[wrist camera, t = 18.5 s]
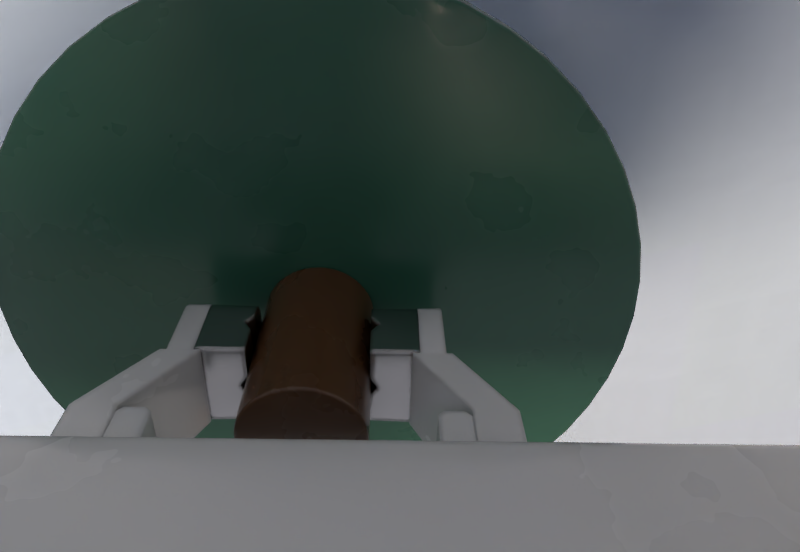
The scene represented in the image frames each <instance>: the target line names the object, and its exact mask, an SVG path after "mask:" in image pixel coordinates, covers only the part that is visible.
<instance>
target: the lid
mask: <svg viewBox="0 0 800 552" xmlns="http://www.w3.org/2000/svg"><path fill="white" fill-rule="evenodd" d="M640 258H641V242H640V234H639V227H638V220H637V212H636V206H635V202H634V199H633V196H632V192H631V189H630V186H629V182H628V179H627V176H626V172H625V169H624V167H623V165H622V163H621V161H620V159H619V156H618V154H617V152H616V150H615V148H614V146H613V144H612V142H611V140H610V138H609V136H608V134H607V132H606V130H605V128H604V127H603V125H602V124H601V123H600V121H599V120H598V118H597V117H596V115H595V114H594V112H593V111H592V110H591V108H590V107H589V105H588V104H587V102H586V101H585V99H584V98H583V96H582V95H581V94H580V92H579V91H578V90H577V89H576V88H575V86H574V85H573V84H572V83H571V82H570V81H569V80H568V79H567V78H566V77H565V76H564V75H563V74H562V73H561V72H560V71H559V69H558V68H557V67H556V66H555V65H554V64H553V63H552V62H551V61H550V60H549V59H548V58H547V57H546V56H545V55H544V54H543V53H542V52H541V51H539V50H538V49H537V48H536V47H534V46H533V45H532V44H530V43H529V42H528V41H527V40H525V39H524V38H523V37H522V36H520V35H519V34H518V33H517V32H515V31H514V30H513V29H511V28H510V27H509V26H508V25H506V24H505V23H503V22H501V21H499V20H498V19H496V18H494V17H492V16H491V15H489V14H487V13H486V12H484V11H482V10H480V9H479V8H477V7H475V6H473V5H472V4H470V3H468V2H467V1H465V0H138V1H137V2H135V3H133V4H131V5H129V6H127V7H125V8H123V9H122V10H120V11H118V12H116V13H114V14H112V15H111V16H109V17H107V18H106V19H104V20H103V21H102V22H101V23H99V24H98V25H97V26H95V27H94V28H93V29H91V30H90V31H89V32H87V33H86V34H85V35H84V36H82V37H81V38H80V39H78V40H77V41H76V42H74V43H73V44H72V45H71V46H69V47H68V48H67V49H66V50H65V51H64V53H63V54H62V55H61V56H60V57H59V58H58V59H57V60H56V61H55V62H54V63H53V64H52V65H51V67H50V68H49V69H48V70H47V71H46V72H45V73H44V74H43V75H42V76H41V77H40V78H39V79H38V81H37V82H36V84H35V85H34V87H33V88H32V90H31V91H30V93H29V95H28V96H27V98H26V99H25V101H24V102H23V104H22V105H21V107H20V108H19V110H18V111H17V113H16V115H15V116H14V118H13V121H12V123H11V125H10V128H9V130H8V132H7V135H6V137H5V139H4V142H3V144H2V146H1V149H0V307H1V310H2V312H3V315H4V317H5V319H6V322H7V324H8V326H9V329H10V331H11V334H12V336H13V338H14V340H15V342H16V344H17V345H18V347H19V349H20V350H21V352H22V354H23V356H24V357H25V359H26V361H27V362H28V364H29V366H30V367H31V369H32V371H33V372H34V373H35V375H36V376H37V377H38V378H39V380H40V381H41V382H42V384H43V385H44V386H45V388H46V389H47V390H48V391H49V393H50V394H51V395H52V397H53V398H54V399H55V400H56V401H57V402H58V403H59V404H60V405H61V406H62V407H63V408H64V409H65V410H66V408H67V407H68V405H69V404H70V403H72V402H73V401H75V400H76V399H78V398H80V397H81V396H83V395H85V394H86V393H88V392H90V391H91V390H93V389H95V388H96V387H98V386H99V385H101V384H103V383H104V382H106V381H108V380H109V379H111V378H113V377H114V376H116V375H118V374H119V373H121V372H122V371H124V370H126V369H127V368H129V367H131V366H132V365H134V364H136V363H137V362H139V361H141V360H142V359H144V358H145V357H147V356H149V355H150V354H152V353H154V352H155V351H157V350H159V349H166V348H167V346H168V344H169V342H170V340H171V338H172V335H173V333H174V331H175V329H176V327H177V324H178V322H179V320H180V318H181V316H182V313H183V311H184V309H185V307H186V306H187V305H189V304H211V305H236V306H259V308H260V310H261V318H262V324H261V328H260V332H259V335H258V339H257V343H256V346H255V350H254V354H253V357H252V361H251V365H250V368H249V372H248V376H247V379H246V383H245V387H244V390H243V394H242V398H241V401H240V405H239V409H238V412H237V416H236V419H211V422H210V423H209V424H208V425H207V426H206V427H205V428H204V429H203V430H202V431H201V432H200V433H199V434H198V435H197V436H196V437H194V438H245V439H328V440H412V441H422V440H421V438H420V437H419V436H418V434H417V433H416V432H415V430H414V429H413V428H412V426H411V425H410V424H409V422H400V421H374V420H370V403H371V379H370V338H371V312H372V309H422V308H440V309H441V310H442V319H443V327H444V335H445V344H446V352H447V353H453V354H454V355H455V356H456V357H458V358H459V359H460V360H461V361H462V362H463V363H465V364H466V365H467V366H468V367H469V368H471V369H472V370H473V371H474V372H475V373H476V374H478V375H479V376H480V377H481V378H482V379H483V380H485V381H486V382H487V383H488V384H489V385H490V386H492V387H493V388H494V389H495V390H496V391H497V392H499V393H500V394H501V395H502V396H503V397H504V398H506V399H507V400H508V401H509V402H510V403H511V404H513V405H514V406H515V407H516V408H517V409H518V410H520V413H521V418H522V422H523V426H524V430H525V434H526V439H527V442H554V441H555V440H556V439H557V438H558V437H559V436H560V435H562V434H563V433H564V432H565V431H566V430H567V429H568V428H569V427H570V426H571V425H572V424H573V422H574V421H575V420H576V419H577V418H578V417H579V416H580V415H581V414H582V412H583V411H584V410H585V409H586V408H587V407H588V406H589V404H590V403H591V402H592V400H593V399H594V397H595V396H596V394H597V393H598V391H599V390H600V388H601V387H602V386H603V384H604V383H605V381H606V380H607V378H608V376H609V374H610V372H611V370H612V369H613V367H614V365H615V363H616V361H617V359H618V357H619V355H620V353H621V351H622V349H623V346H624V343H625V340H626V337H627V334H628V331H629V328H630V325H631V322H632V319H633V316H634V311H635V306H636V300H637V294H638V289H639V283H640Z"/></svg>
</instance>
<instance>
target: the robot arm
mask: <svg viewBox="0 0 800 552" xmlns="http://www.w3.org/2000/svg"><path fill="white" fill-rule="evenodd" d="M261 324H262V318H261V310H260V308H259V306H236V305H211V304H189V305H187V306H186V307H185V309H184V311H183V313H182V316H181V318H180V320H179V322H178V324H177V327H176V329H175V331H174V333H173V335H172V338H171V340H170V342H169V344H168V346H167V348H166V349H159V350H157V351H155V352H154V353H152V354H150V355H149V356H147V357H145V358H144V359H142V360H141V361H139V362H137V363H136V364H134V365H132V366H131V367H129V368H127V369H126V370H124V371H122V372H121V373H119V374H118V375H116V376H114V377H113V378H111V379H109V380H108V381H106V382H104V383H103V384H101V385H99V386H98V387H96V388H95V389H93V390H91V391H90V392H88V393H86V394H85V395H83V396H81V397H80V398H78V399H76V400H75V401H73V402H72V403H70V404H69V405H68V407H67V408H66V410H65V412H64V413H63V415H62V417H61V418H60V420H59V422H58V423H57V425H56V427H55V429H54V430H53V432H52V434H51V435H50V436H0V552H800V445H730V444H652V443H575V442H527V439H526V434H525V430H524V426H523V422H522V418H521V413H520V410H518V409H517V408H516V407H515V406H514V405H513V404H511V403H510V402H509V401H508V400H507V399H506V398H504V397H503V396H502V395H501V394H500V393H499V392H497V391H496V390H495V389H494V388H493V387H492V386H490V385H489V384H488V383H487V382H486V381H485V380H483V379H482V378H481V377H480V376H479V375H478V374H476V373H475V372H474V371H473V370H472V369H471V368H469V367H468V366H467V365H466V364H465V363H463V362H462V361H461V360H460V359H459V358H458V357H456V356H455V355H454V354H453V353H447V352H446V344H445V335H444V327H443V319H442V310H441V309H440V308H422V309H372V312H371V338H370V379H371V403H370V420H374V421H400V422H409V424H410V425H411V426H412V428H413V429H414V430H415V432H416V433H417V434H418V436H419V437H420V438H421V440H422V441H412V440H328V439H245V438H194V437H196V436H197V435H198V434H199V433H200V432H201V431H202V430H203V429H204V428H205V427H206V426H207V425H208V424H209V423H210V422H211V419H236V416H237V412H238V409H239V405H240V401H241V398H242V394H243V390H244V387H245V383H246V379H247V376H248V372H249V368H250V365H251V361H252V357H253V354H254V350H255V346H256V343H257V339H258V335H259V332H260V328H261Z"/></svg>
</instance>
